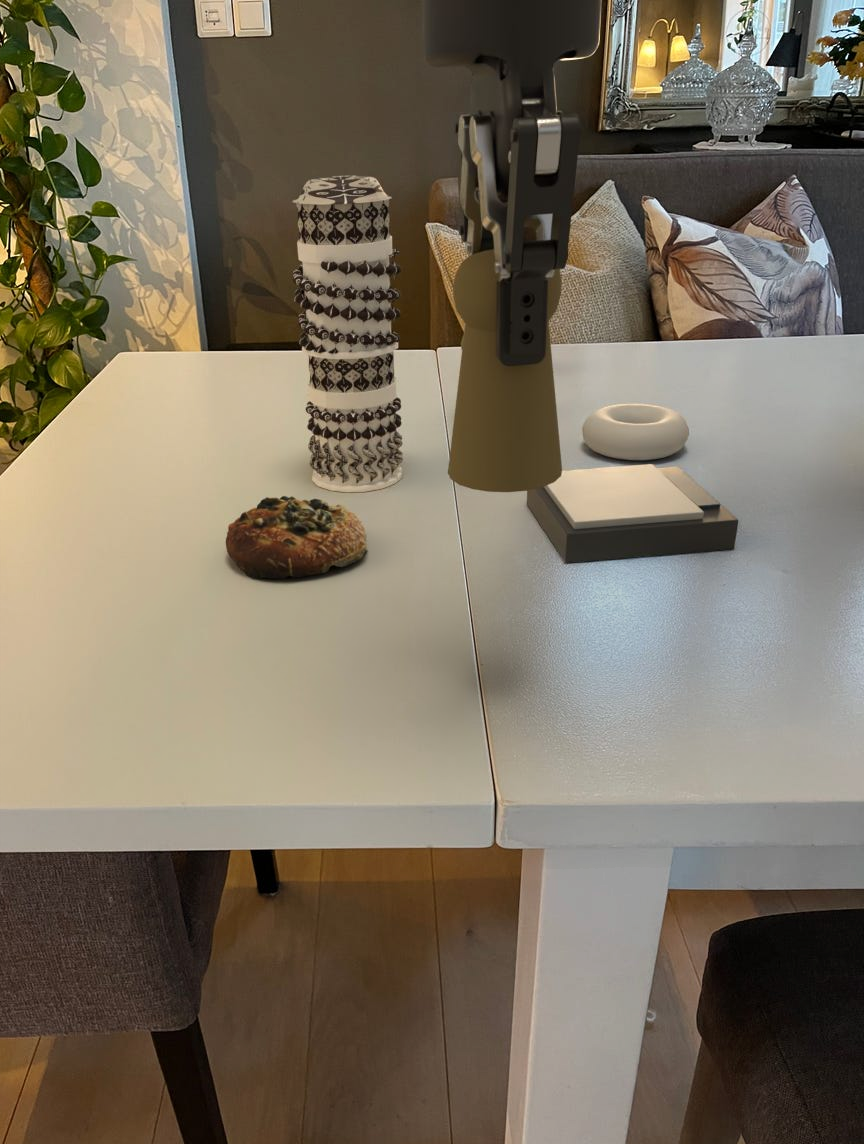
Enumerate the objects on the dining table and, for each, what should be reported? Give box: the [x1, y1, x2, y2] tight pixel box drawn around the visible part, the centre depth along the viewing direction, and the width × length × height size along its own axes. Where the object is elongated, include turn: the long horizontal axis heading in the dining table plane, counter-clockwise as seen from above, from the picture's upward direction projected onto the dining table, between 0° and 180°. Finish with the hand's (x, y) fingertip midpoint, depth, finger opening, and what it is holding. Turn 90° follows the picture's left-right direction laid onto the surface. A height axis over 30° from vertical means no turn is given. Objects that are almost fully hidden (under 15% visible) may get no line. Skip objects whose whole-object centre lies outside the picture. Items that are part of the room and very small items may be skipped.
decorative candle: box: [291, 175, 404, 493], centre depth 82 cm, size 9×9×25 cm
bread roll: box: [225, 495, 369, 580], centre depth 73 cm, size 11×11×5 cm
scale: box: [526, 463, 740, 564], centre depth 75 cm, size 13×12×3 cm
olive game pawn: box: [447, 249, 563, 493], centre depth 48 cm, size 6×6×11 cm
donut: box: [581, 403, 690, 461], centre depth 91 cm, size 10×4×10 cm
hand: (506, 347), depth 47 cm, fingers closed on olive game pawn, 5 cm apart
